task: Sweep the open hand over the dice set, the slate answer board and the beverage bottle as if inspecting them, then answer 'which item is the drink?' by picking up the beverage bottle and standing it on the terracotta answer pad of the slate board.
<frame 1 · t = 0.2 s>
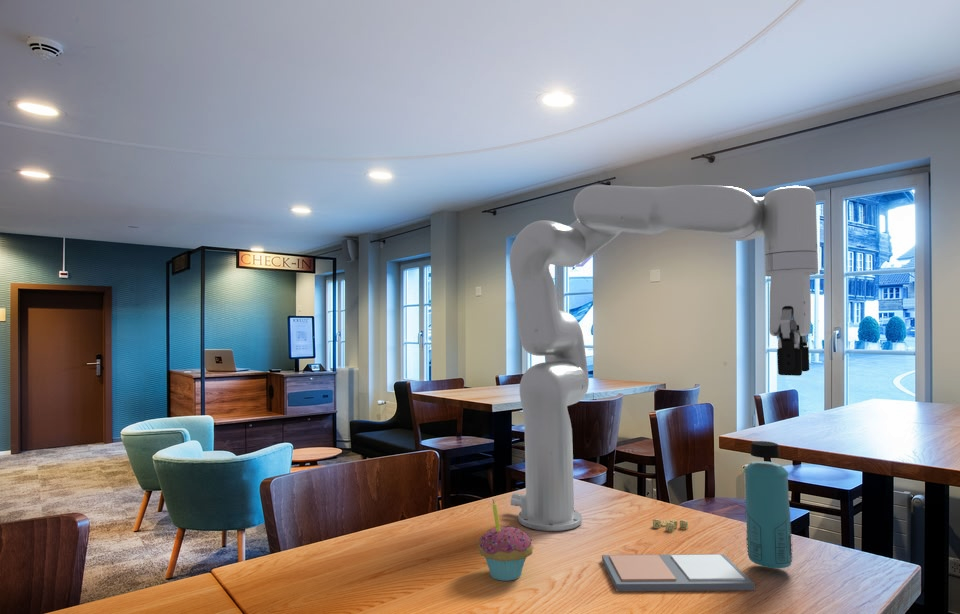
hand: (794, 372, 92), 31 cm above the table, tool pointing down, fingers open, 9 cm apart
answer board: (673, 574, 90), on the table
dice set: (669, 532, 111), on the table
beverage bottle: (769, 571, 91), on the table
cupcake: (505, 575, 91), on the table
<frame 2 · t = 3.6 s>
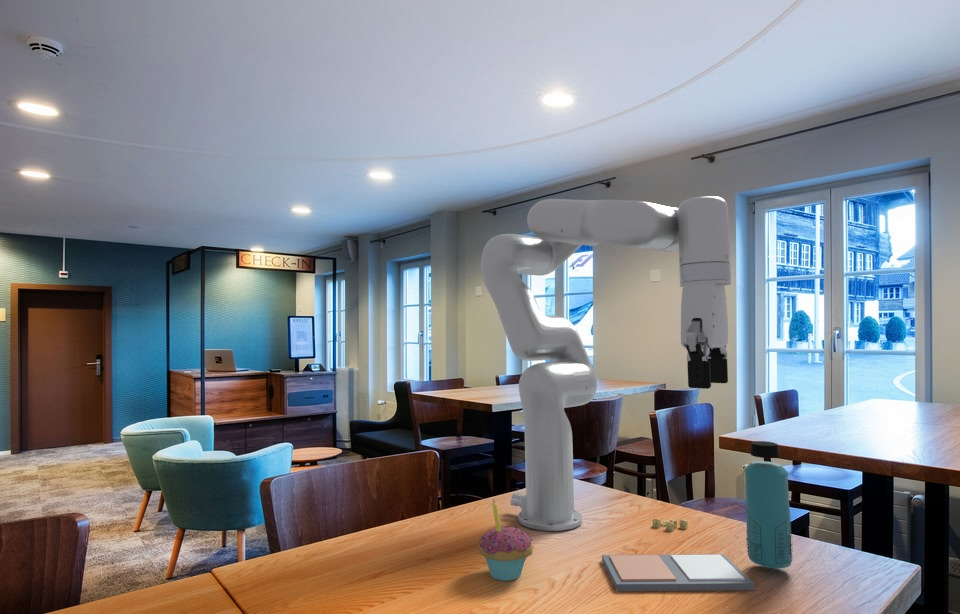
hand: (708, 385, 91), 29 cm above the table, tool pointing down, fingers open, 9 cm apart
nothing on the table moved.
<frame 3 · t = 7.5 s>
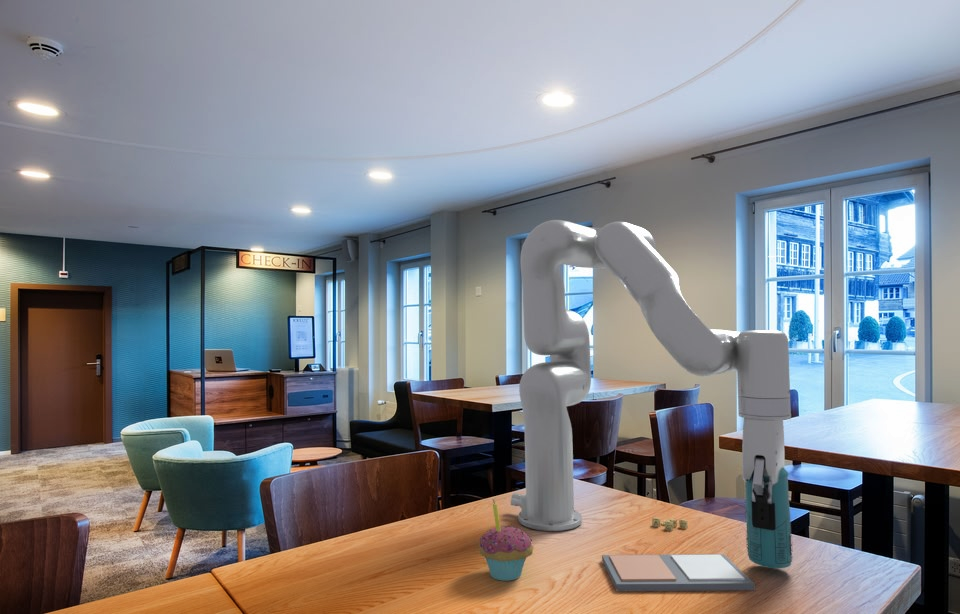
hand: (767, 520, 92), 8 cm above the table, tool pointing down, fingers closed on beverage bottle, 6 cm apart
beverage bottle: (769, 571, 91), on the table, touching gripper
everything else where it was.
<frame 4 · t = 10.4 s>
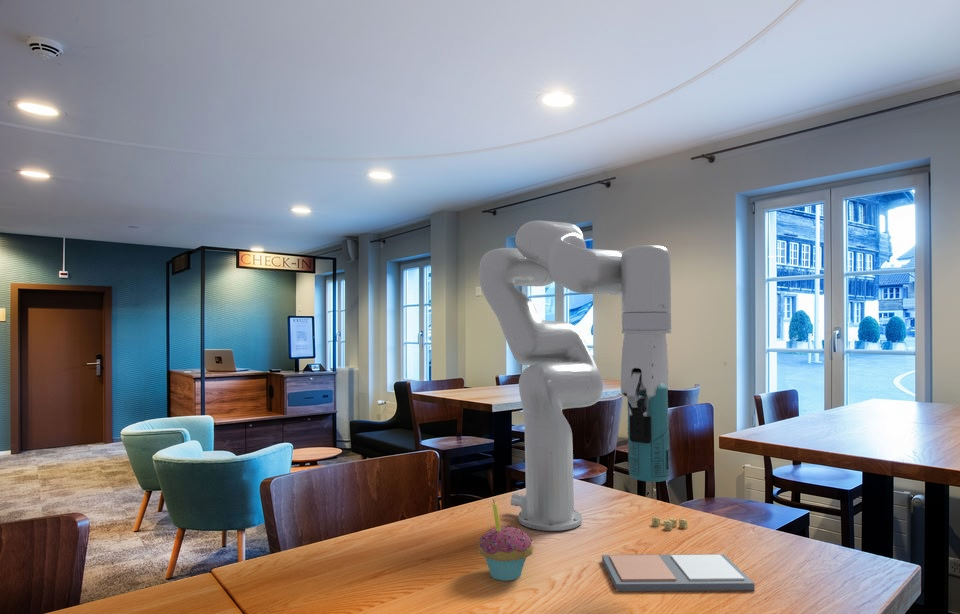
hand: (647, 437, 91), 21 cm above the table, tool pointing down, fingers closed on beverage bottle, 6 cm apart
beverage bottle: (648, 487, 91), point 13 cm above the table, touching gripper
everything else where it was.
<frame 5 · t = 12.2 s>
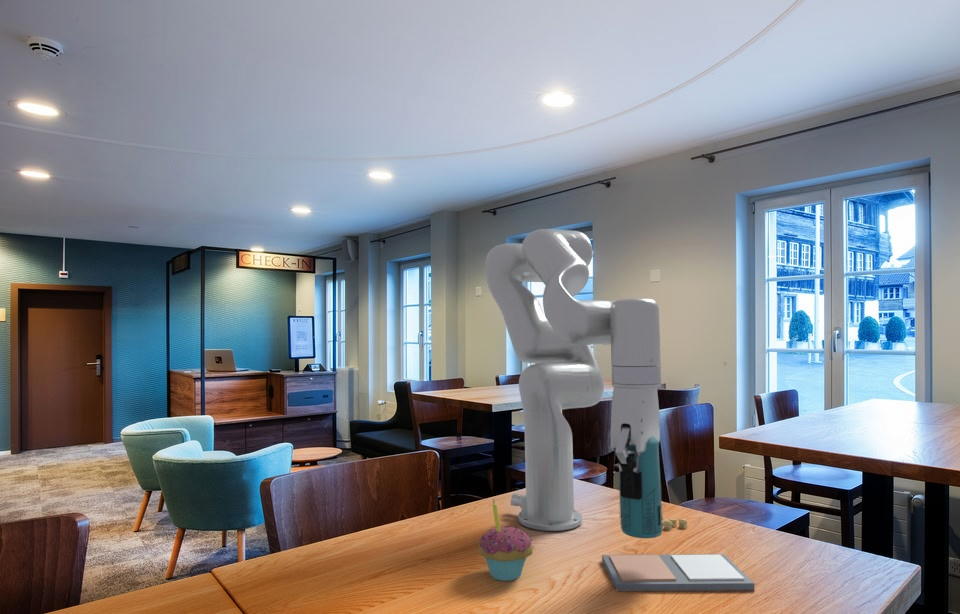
hand: (639, 491, 90), 13 cm above the table, tool pointing down, fingers closed on beverage bottle, 6 cm apart
beverage bottle: (641, 542, 90), point 5 cm above the table, touching gripper
everything else where it was.
when the fingers open (10 cm above the table, at t = 13.5 s): beverage bottle drops 2 cm, resting on answer board.
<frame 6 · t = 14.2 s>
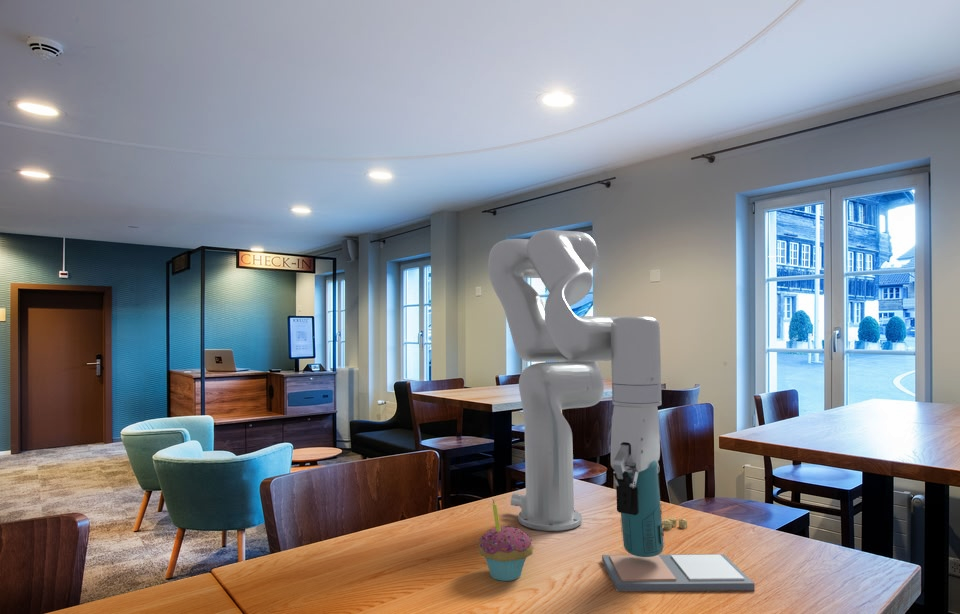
hand: (639, 504, 91), 11 cm above the table, tool pointing down, fingers open, 9 cm apart
beverage bottle: (643, 557, 93), point 2 cm above the table, touching answer board, gripper
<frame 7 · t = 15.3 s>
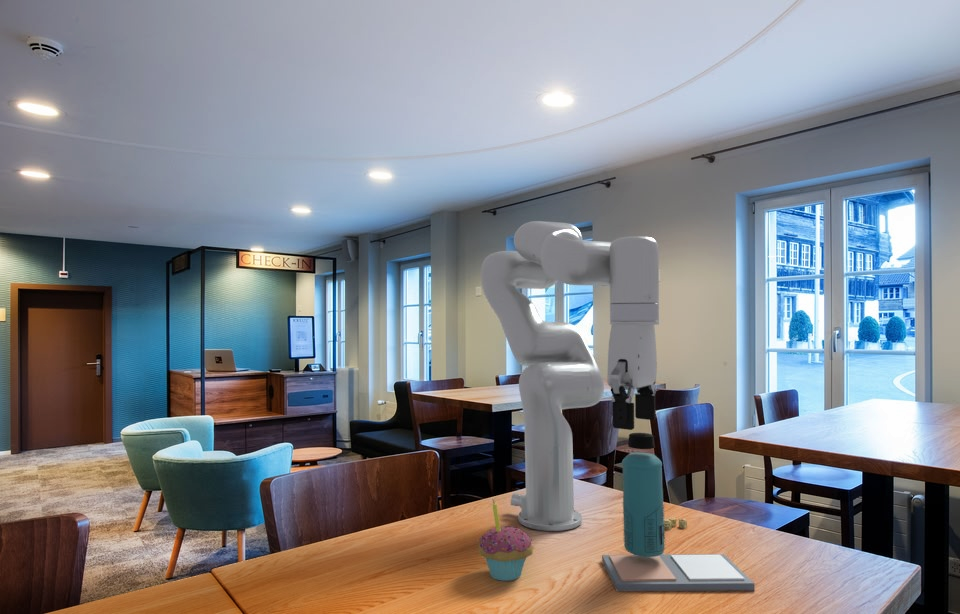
hand: (634, 423, 92), 23 cm above the table, tool pointing down, fingers open, 9 cm apart
beverage bottle: (644, 560, 93), point 1 cm above the table, touching answer board
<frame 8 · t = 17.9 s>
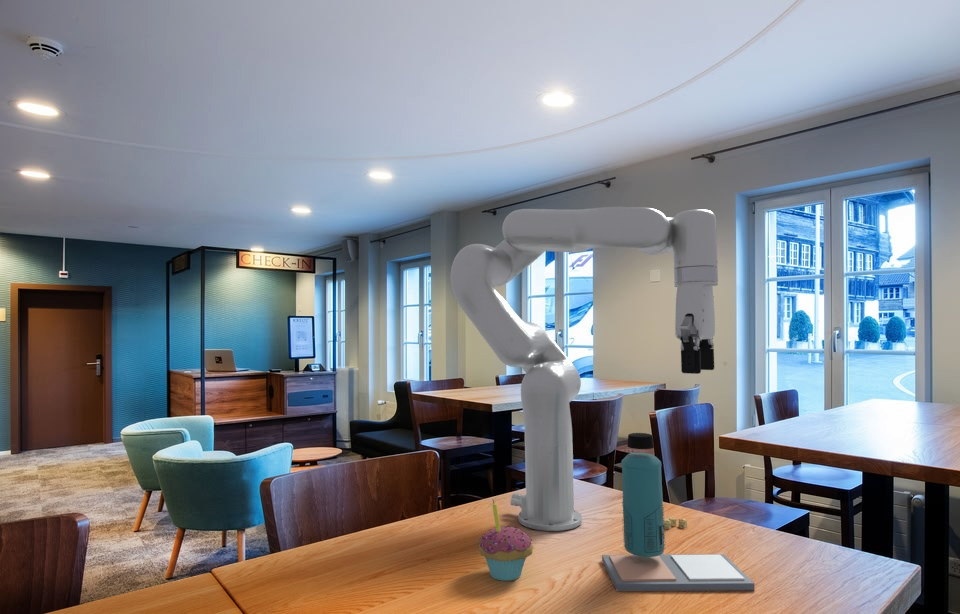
hand: (698, 371, 106), 30 cm above the table, tool pointing down, fingers open, 9 cm apart
at the end: beverage bottle inside the target area (3.2 cm from its centre), point 1.1 cm above the table; beverage bottle tilted 0°; the gripper is holding nothing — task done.
